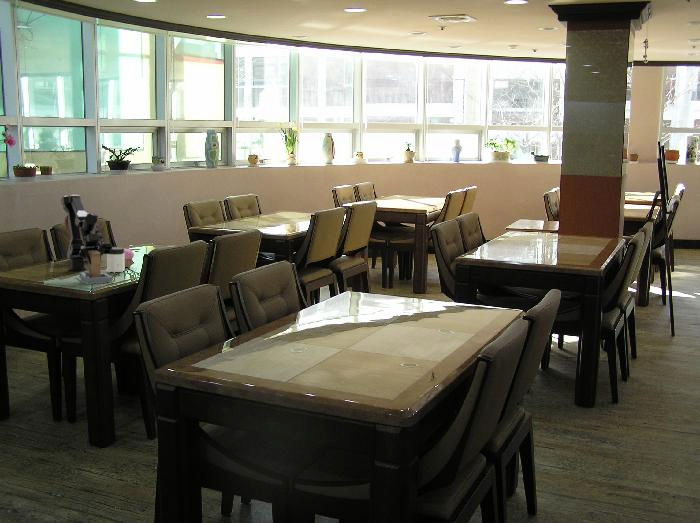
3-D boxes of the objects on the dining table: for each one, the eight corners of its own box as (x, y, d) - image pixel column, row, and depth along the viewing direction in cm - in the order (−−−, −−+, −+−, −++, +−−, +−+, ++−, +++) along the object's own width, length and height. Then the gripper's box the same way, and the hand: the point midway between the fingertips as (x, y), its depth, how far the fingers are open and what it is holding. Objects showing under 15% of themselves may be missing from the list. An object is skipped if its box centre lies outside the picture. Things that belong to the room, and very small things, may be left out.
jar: (109, 273, 393) (109, 249, 391) (104, 270, 399) (104, 247, 398) (127, 272, 398) (127, 248, 396) (122, 269, 404) (122, 246, 402)
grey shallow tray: (75, 277, 379) (75, 272, 379) (102, 275, 386) (102, 270, 386) (86, 284, 364) (86, 278, 364) (114, 282, 372) (113, 276, 371)
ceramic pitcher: (97, 263, 421) (97, 216, 417) (58, 261, 421) (57, 215, 417) (108, 258, 438) (107, 213, 434) (70, 256, 438) (69, 212, 434)
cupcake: (135, 266, 415) (135, 247, 413) (131, 269, 406) (131, 250, 405) (118, 266, 415) (118, 247, 413) (114, 268, 406) (113, 249, 404)
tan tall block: (88, 277, 376) (88, 251, 374) (97, 276, 378) (96, 251, 376) (92, 279, 371) (91, 253, 369) (100, 278, 374) (100, 252, 371)
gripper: (71, 227, 369) (78, 254, 362) (110, 226, 379) (118, 252, 372) (67, 242, 377) (73, 268, 370) (106, 240, 387) (113, 265, 380)
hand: (95, 263), depth 373 cm, fingers closed on tan tall block, 4 cm apart
